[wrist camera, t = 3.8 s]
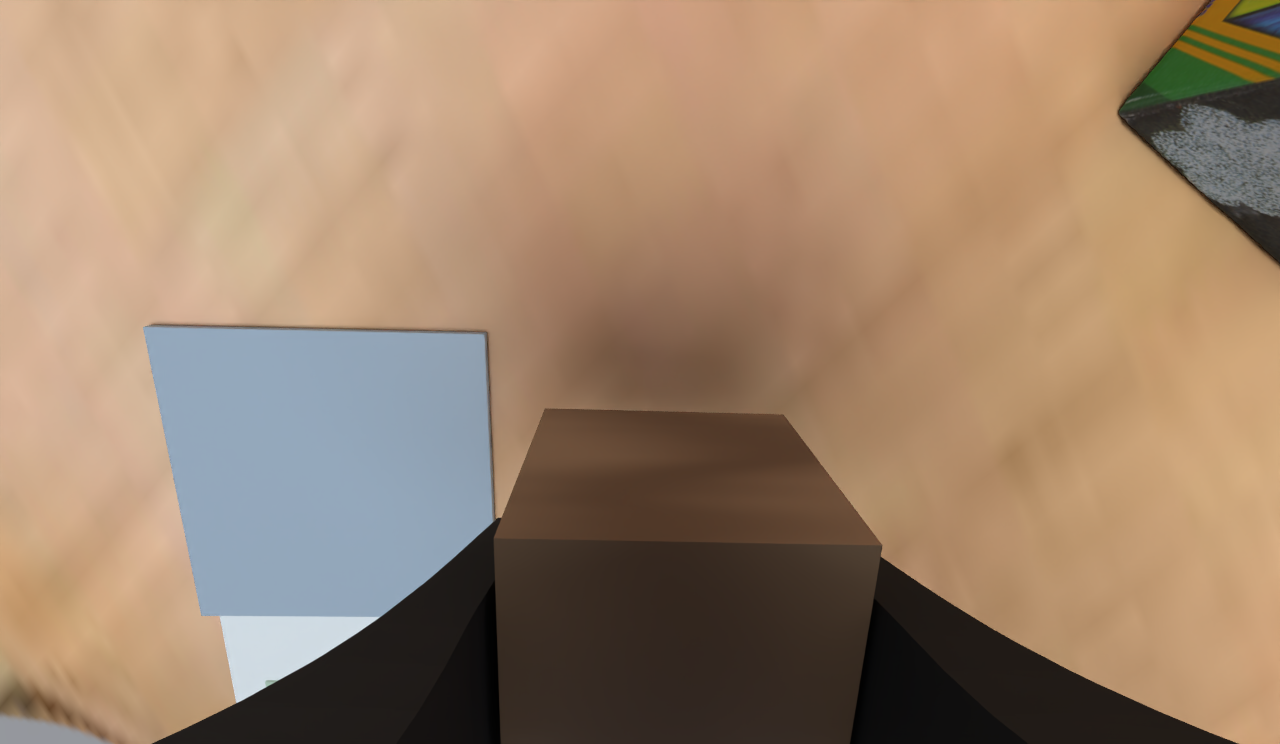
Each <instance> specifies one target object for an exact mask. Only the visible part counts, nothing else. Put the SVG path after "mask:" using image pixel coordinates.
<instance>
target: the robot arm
mask: <svg viewBox="0 0 1280 744" xmlns="http://www.w3.org/2000/svg"><path fill="white" fill-rule="evenodd" d="M500 521H501V518H497V519H496V520H495V521H494V522H493V523H492V524H490V525H489V526H488V527H487V528H486V529H485V530H484V531H483V532H481V533H480V534H479V535H478V536H477V537H476V538H475V539H474V540H473V541H472V542H470V543H469V544H468V545H467V546H466V547H465V548H464V549H463V550H462V551H461V552H459V553H458V554H457V555H456V556H455V557H454V558H453V559H452V560H451V561H449V562H448V563H447V564H446V565H445V566H444V567H442V568H441V569H440V570H439V571H438V572H437V573H436V574H434V575H433V576H432V577H431V578H430V579H429V580H427V581H426V582H425V583H424V584H422V585H421V586H420V587H418V588H417V589H416V590H415V591H413V592H412V593H411V594H409V595H408V596H407V597H406V598H404V599H403V600H402V601H401V602H399V603H398V604H397V605H395V606H394V607H393V608H392V609H390V610H389V611H388V612H386V613H385V614H384V615H382V616H381V617H380V618H378V619H377V620H375V621H374V622H373V623H371V624H370V625H368V626H367V627H365V628H364V629H362V630H361V631H359V632H358V633H357V634H355V635H353V636H352V637H350V638H349V639H347V640H346V641H344V642H343V643H341V644H339V645H338V646H336V647H335V648H333V649H332V650H330V651H329V652H327V653H325V654H324V655H322V656H321V657H319V658H317V659H316V660H314V661H312V662H311V663H309V664H307V665H305V666H303V667H302V668H300V669H298V670H296V671H294V672H293V673H291V674H289V675H287V676H285V677H284V678H282V679H280V680H278V681H276V682H275V683H273V684H271V685H269V686H267V687H266V688H264V689H262V690H260V691H258V692H256V693H255V694H253V695H251V696H249V697H247V698H246V699H244V700H242V701H240V702H238V703H236V704H234V705H232V706H230V707H228V708H226V709H224V710H222V711H220V712H218V713H216V714H214V715H212V716H210V717H208V718H206V719H204V720H202V721H200V722H198V723H196V724H194V725H192V726H189V727H187V728H185V729H183V730H181V731H179V732H176V733H174V734H172V735H170V736H168V737H165V738H163V739H161V740H159V741H157V742H154V743H152V744H501V735H500V707H499V678H498V649H497V620H496V592H495V563H494V536H495V534H496V531H497V529H498V526H499V524H500ZM850 744H1238V743H1235V742H1232V741H1230V740H1227V739H1225V738H1222V737H1219V736H1217V735H1214V734H1212V733H1209V732H1207V731H1204V730H1202V729H1199V728H1197V727H1195V726H1192V725H1190V724H1187V723H1185V722H1182V721H1180V720H1178V719H1175V718H1173V717H1170V716H1168V715H1166V714H1163V713H1161V712H1159V711H1156V710H1154V709H1152V708H1150V707H1147V706H1145V705H1143V704H1141V703H1139V702H1136V701H1134V700H1132V699H1130V698H1127V697H1125V696H1123V695H1121V694H1119V693H1116V692H1114V691H1112V690H1110V689H1107V688H1105V687H1103V686H1101V685H1099V684H1097V683H1094V682H1092V681H1090V680H1088V679H1086V678H1084V677H1082V676H1080V675H1078V674H1076V673H1074V672H1072V671H1070V670H1068V669H1066V668H1064V667H1062V666H1060V665H1058V664H1056V663H1054V662H1052V661H1050V660H1049V659H1047V658H1045V657H1043V656H1041V655H1039V654H1037V653H1035V652H1033V651H1031V650H1030V649H1028V648H1026V647H1024V646H1022V645H1020V644H1018V643H1016V642H1014V641H1013V640H1011V639H1009V638H1007V637H1006V636H1004V635H1002V634H1000V633H999V632H997V631H995V630H993V629H992V628H990V627H988V626H987V625H985V624H983V623H982V622H980V621H978V620H977V619H975V618H973V617H972V616H970V615H969V614H967V613H965V612H964V611H962V610H960V609H959V608H957V607H955V606H954V605H952V604H951V603H949V602H947V601H946V600H944V599H943V598H941V597H940V596H938V595H937V594H935V593H933V592H932V591H930V590H929V589H927V588H926V587H924V586H923V585H921V584H920V583H918V582H917V581H915V580H914V579H913V578H911V577H910V576H908V575H907V574H905V573H904V572H902V571H901V570H899V569H898V568H896V567H895V566H894V565H892V564H891V563H889V562H888V561H886V560H885V559H883V558H882V557H880V563H879V569H878V575H877V581H876V587H875V593H874V600H873V606H872V612H871V618H870V624H869V630H868V636H867V642H866V648H865V654H864V660H863V666H862V673H861V679H860V685H859V691H858V697H857V703H856V709H855V715H854V721H853V727H852V733H851V739H850Z"/></svg>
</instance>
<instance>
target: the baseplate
mask: <svg viewBox="0 0 1280 744" xmlns="http://www.w3.org/2000/svg"><path fill="white" fill-rule="evenodd" d="M143 329H144V334H145V339H146V344H147V349H148V354H149V359H150V364H151V369H152V374H153V379H154V384H155V388H156V393H157V398H158V403H159V408H160V413H161V418H162V423H163V428H164V433H165V438H166V443H167V448H168V453H169V458H170V463H171V468H172V472H173V477H174V482H175V487H176V492H177V497H178V502H179V507H180V512H181V517H182V522H183V527H184V532H185V537H186V542H187V547H188V552H189V557H190V561H191V566H192V571H193V576H194V581H195V586H196V591H197V596H198V601H199V606H200V611H201V616H319V617H381V616H382V615H384V614H385V613H386V612H388V611H389V610H390V609H392V608H393V607H394V606H395V605H397V604H398V603H399V602H401V601H402V600H403V599H404V598H406V597H407V596H408V595H409V594H411V593H412V592H413V591H415V590H416V589H417V588H418V587H420V586H421V585H422V584H424V583H425V582H426V581H427V580H429V579H430V578H431V577H432V576H433V575H434V574H436V573H437V572H438V571H439V570H440V569H441V568H442V567H444V566H445V565H446V564H447V563H448V562H449V561H451V560H452V559H453V558H454V557H455V556H456V555H457V554H458V553H459V552H461V551H462V550H463V549H464V548H465V547H466V546H467V545H468V544H469V543H470V542H472V541H473V540H474V539H475V538H476V537H477V536H478V535H479V534H480V533H481V532H483V531H484V530H485V529H486V528H487V527H488V526H489V525H490V524H492V523H493V522H494V521H495V513H494V490H493V467H492V445H491V422H490V399H489V376H488V353H487V332H454V331H407V330H360V329H313V328H266V327H218V326H171V325H149V326H145V327H143Z"/></svg>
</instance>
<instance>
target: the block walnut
mask: <svg viewBox="0 0 1280 744" xmlns="http://www.w3.org/2000/svg"><path fill="white" fill-rule="evenodd" d="M881 551H882V544H881V543H880V542H879V540H878V539H877V538H876V536H875V535H874V534H873V532H872V531H871V530H870V528H869V527H868V526H867V524H866V523H865V522H864V521H863V519H862V518H861V517H860V515H859V514H858V513H857V511H856V510H855V509H854V507H853V506H852V505H851V503H850V502H849V501H848V499H847V498H846V497H845V495H844V494H843V493H842V491H841V490H840V489H839V488H838V486H837V485H836V484H835V482H834V481H833V480H832V478H831V477H830V476H829V474H828V473H827V472H826V470H825V469H824V468H823V466H822V465H821V464H820V462H819V461H818V460H817V458H816V457H815V456H814V455H813V453H812V452H811V451H810V449H809V448H808V447H807V445H806V444H805V443H804V441H803V440H802V439H801V437H800V436H799V435H798V433H797V432H796V431H795V429H794V428H793V427H792V425H791V424H790V423H789V422H788V420H787V419H786V418H785V416H784V415H777V414H738V413H699V412H660V411H621V410H582V409H545V410H544V412H543V415H542V417H541V420H540V422H539V425H538V428H537V430H536V433H535V435H534V438H533V440H532V443H531V445H530V448H529V450H528V453H527V455H526V458H525V460H524V463H523V465H522V468H521V470H520V473H519V476H518V478H517V481H516V483H515V486H514V488H513V491H512V493H511V496H510V498H509V501H508V503H507V506H506V508H505V511H504V513H503V516H502V518H501V521H500V524H499V526H498V529H497V531H496V534H495V536H494V563H495V592H496V620H497V649H498V678H499V707H500V735H501V744H850V739H851V733H852V727H853V721H854V715H855V709H856V703H857V697H858V691H859V685H860V679H861V673H862V666H863V660H864V654H865V648H866V642H867V636H868V630H869V624H870V618H871V612H872V606H873V600H874V593H875V587H876V581H877V575H878V569H879V563H880V557H881Z"/></svg>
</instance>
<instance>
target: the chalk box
mask: <svg viewBox="0 0 1280 744" xmlns="http://www.w3.org/2000/svg"><path fill="white" fill-rule="evenodd" d="M1119 115H1120V116H1121V117H1122V118H1124V119H1125V120H1126V122H1127V123H1128V124H1129V125H1130V126H1131V127H1132V128H1133V129H1135V130H1136V131H1137V132H1138V134H1139V135H1140V136H1142V137H1144V139H1145V140H1146V141H1147V142H1148V143H1149V144H1151V145H1152V146H1153V147H1154V149H1155V150H1157V151H1158V152H1160V153H1161V155H1162V157H1164V158H1165V159H1167V160H1169V161H1170V163H1171V165H1172V166H1174V167H1175V168H1177V169H1178V170H1179V172H1180V173H1181V174H1183V175H1184V176H1185V177H1186V178H1187V179H1188V180H1189V181H1190V182H1191V183H1193V184H1194V185H1195V186H1196V187H1197V189H1199V190H1200V191H1201V192H1203V193H1204V194H1205V195H1206V196H1207V197H1208V198H1209V199H1210V200H1211V201H1212V202H1213V203H1214V204H1215V205H1216V206H1218V207H1219V208H1220V209H1221V210H1222V211H1224V212H1225V213H1226V214H1227V215H1228V216H1230V217H1231V218H1232V219H1233V220H1234V221H1235V222H1236V223H1238V224H1239V225H1240V226H1241V227H1242V229H1244V230H1245V231H1246V232H1247V233H1248V234H1249V235H1250V236H1251V237H1252V238H1253V239H1254V240H1255V241H1257V242H1258V243H1260V244H1261V246H1262V247H1263V248H1264V249H1265V250H1266V251H1268V253H1269V254H1270V255H1272V256H1273V257H1274V258H1276V259H1277V261H1278V262H1279V263H1280V0H1211V2H1210V3H1209V4H1208V5H1207V6H1206V7H1205V9H1204V10H1203V11H1202V13H1201V14H1200V15H1199V16H1198V17H1197V18H1196V19H1195V20H1194V22H1193V23H1192V24H1191V25H1190V27H1189V28H1188V29H1187V30H1186V31H1185V32H1184V34H1183V35H1182V36H1181V37H1180V38H1179V39H1178V41H1177V42H1176V43H1175V44H1174V45H1173V47H1172V48H1171V49H1170V50H1169V51H1168V52H1167V53H1166V54H1165V56H1164V57H1163V58H1162V59H1161V61H1160V62H1159V63H1158V64H1157V66H1156V67H1155V68H1154V69H1153V70H1152V71H1151V72H1150V73H1149V75H1148V76H1147V77H1146V79H1145V80H1144V81H1143V82H1142V83H1141V84H1140V85H1139V87H1138V88H1137V89H1136V90H1135V91H1134V92H1133V93H1132V94H1131V96H1130V97H1129V98H1128V99H1127V101H1126V102H1125V104H1124V105H1123V107H1122V108H1121V109H1120V110H1119Z"/></svg>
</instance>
